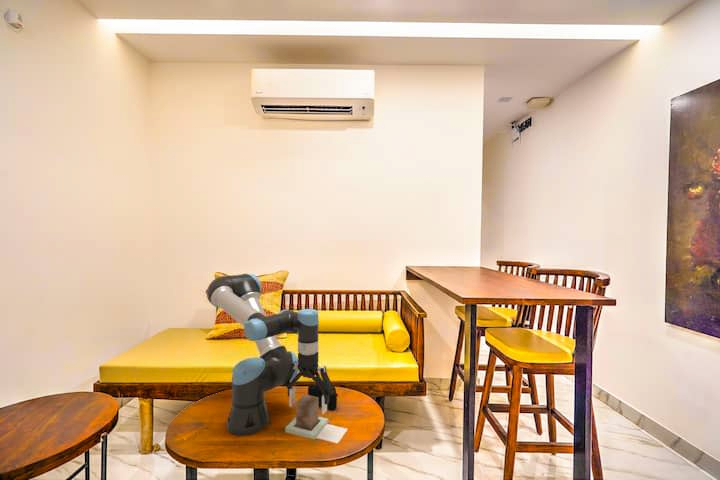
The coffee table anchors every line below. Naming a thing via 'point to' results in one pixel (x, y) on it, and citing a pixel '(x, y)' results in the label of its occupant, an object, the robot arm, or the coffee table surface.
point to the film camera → (315, 391)
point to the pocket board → (312, 434)
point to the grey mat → (332, 433)
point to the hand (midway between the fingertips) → (308, 408)
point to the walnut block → (307, 412)
